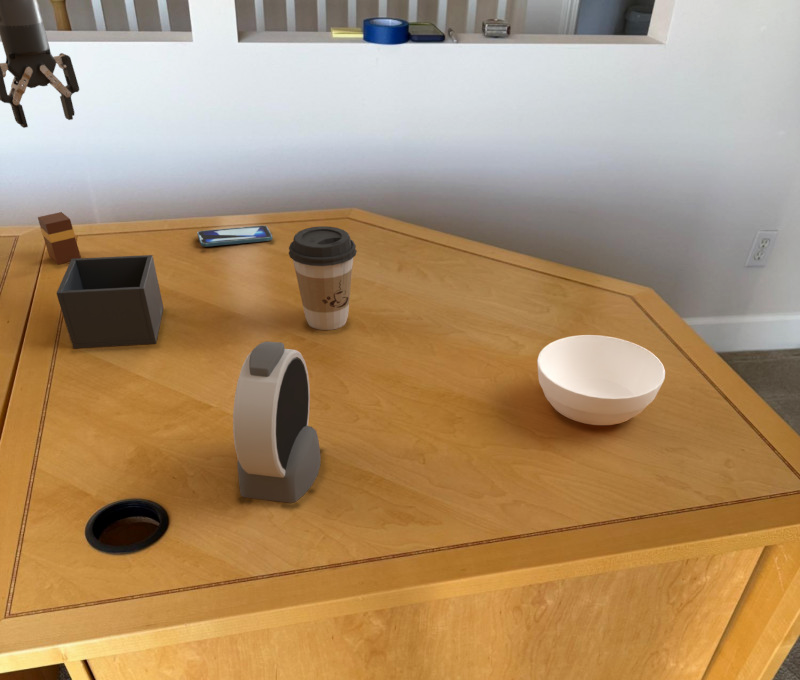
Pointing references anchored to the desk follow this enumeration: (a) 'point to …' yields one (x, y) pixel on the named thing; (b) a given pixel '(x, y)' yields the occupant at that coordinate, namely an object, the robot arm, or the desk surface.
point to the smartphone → (234, 235)
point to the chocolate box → (59, 237)
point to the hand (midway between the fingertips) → (47, 122)
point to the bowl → (599, 378)
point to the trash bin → (111, 301)
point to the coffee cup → (324, 274)
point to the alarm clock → (274, 425)
